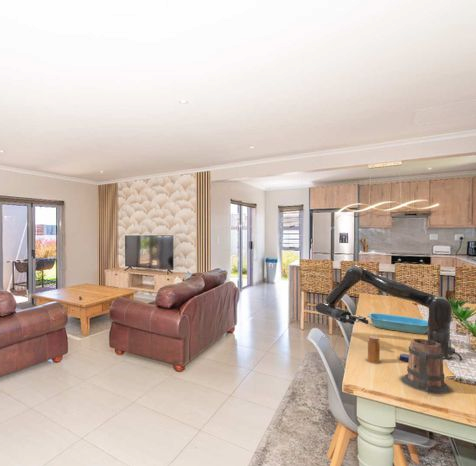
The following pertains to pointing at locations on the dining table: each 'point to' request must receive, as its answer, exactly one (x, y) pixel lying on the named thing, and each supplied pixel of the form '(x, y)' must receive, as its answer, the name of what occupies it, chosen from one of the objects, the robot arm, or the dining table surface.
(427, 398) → the dining table surface
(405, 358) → the lid
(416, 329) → the casserole dish
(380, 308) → the dining table surface
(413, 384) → the tankard
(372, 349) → the jar
